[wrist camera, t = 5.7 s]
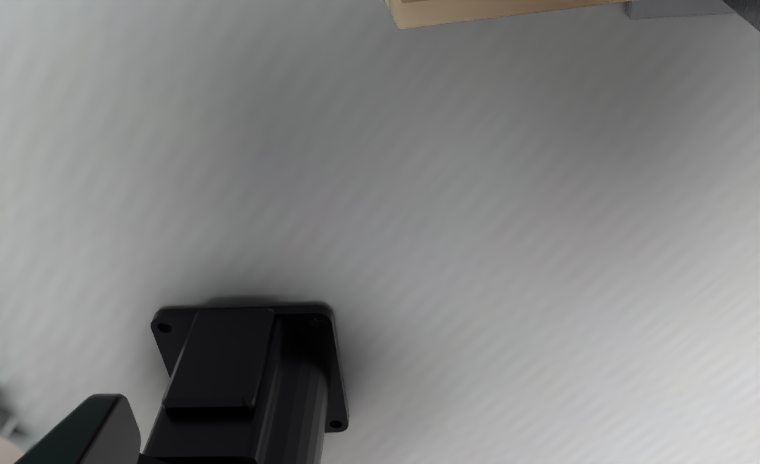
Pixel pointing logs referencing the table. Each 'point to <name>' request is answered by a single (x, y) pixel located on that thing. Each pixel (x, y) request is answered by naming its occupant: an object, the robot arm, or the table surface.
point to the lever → (473, 9)
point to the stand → (694, 9)
